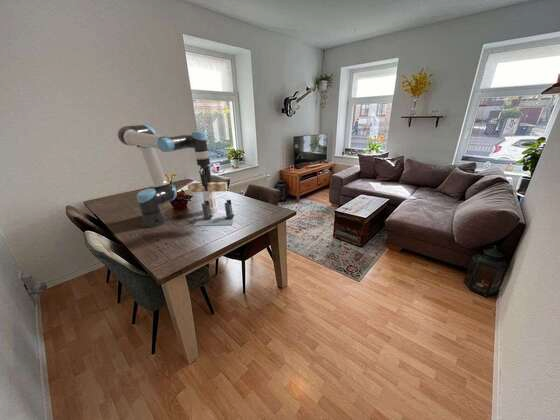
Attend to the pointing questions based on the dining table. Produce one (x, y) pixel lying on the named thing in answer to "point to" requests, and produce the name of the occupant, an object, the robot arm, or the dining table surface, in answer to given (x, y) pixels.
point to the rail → (212, 187)
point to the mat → (214, 223)
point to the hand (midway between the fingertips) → (209, 194)
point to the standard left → (206, 210)
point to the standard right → (228, 210)
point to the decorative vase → (211, 202)
